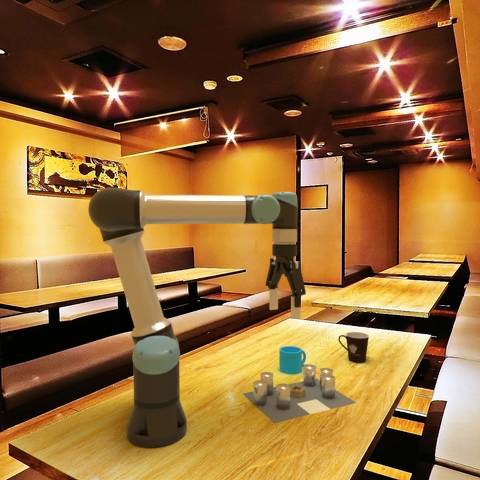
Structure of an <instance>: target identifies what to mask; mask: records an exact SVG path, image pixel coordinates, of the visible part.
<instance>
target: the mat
mask: <svg viewBox="0 0 480 480" xmlns="http://www.w3.org/2000/svg"><path fill="white" fill-rule="evenodd" d="M288 385H290V387H291V386H294V385H297V386H303V387H304V388H305V396H304V397H302V398H294V397H291V395H290V408H289V409H287V410H280V409H278V408H277V407H276V386H273V395H271V396H267V404H266V405H264V406H257V405H254V403H253V391H248V392H244V393H242V395H243V396H244V397H245V398H247V399H248V400H249V401H250V403H252V404H253V405H254V406H255V407H256V408H257V409H258V410H259V411H261V412H262V414H264V416H266V418H268V419H269V420H270V421H271V422H272V423H274V424H278V423H280V422H283V421H284V422H285V421H289V420H293V419H297V418H301V417H305V416H309V415H313V414H316V413H317V414H318V413H321V412H325V411H329V410H333V409H338V408H341V407H345V406H349V405H355V404H357V401H355V400H353V399H351V398H350V397H348V396H347V395H345V394H343V393H342V392H340V391H338V390H337V389H335V398H334V399H325V398H323V397H322V390H321V389H320V379H318V378H316V385H315V386H313V387H307V386H305V385H304V384H303V381H299V382H293V383H289V384H288Z"/></svg>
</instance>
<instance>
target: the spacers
mask: <svg viewBox="0 0 480 480" xmlns="http://www.w3.org/2000/svg"><path fill="white" fill-rule="evenodd" d="M316 367H317V366H316V365H315V364H311V363H310V364H309V363H306V364H303V365H302V372H303V375H302V377H303V384H304V385H305V386H307V387H313V386H315V385H316V379H317V375H316V374H317V373H316V371H317V369H316ZM259 378H260V379H259V380H255V381H253V384H252V387H253V391H252V392H253V403H254V404H253V403H252V404H253V405H254V406H255V405H257V406H264V405H266V404H267V396H271V395H273V387H274V373H272V372H271V371H270V372H269V371H263V372H261V373H260V377H259ZM319 380H320V389H321V390H322V397H323V398H325V399H334V398H335V390H336V376H334V373H333V369H332V368H329V367H321V368H320V369H319ZM275 387H276V407H277V408H278V409H280V410H287V409H289V408H290V385H288V384H287V383H277V385H276V386H275Z"/></svg>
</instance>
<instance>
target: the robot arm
mask: <svg viewBox="0 0 480 480" xmlns="http://www.w3.org/2000/svg"><path fill="white" fill-rule="evenodd" d="M298 209H299V207H298V196H297V194H296V193H295V192H292V191H276V192H274V193H273V194H272V195H270V194H259V195H252V194H251V195H239V194H238V195H236V194H232V195H230V194H223V195H222V194H150V193H148V194H147V193H145V191H143V190H142V189H141V190H140V189H139V190H137V189H135V190H134V189H126V188H117V187H104V188H102V189H100V190H98V191H97V192H96V193H94V194H93V196H91V198H90V200H89V203H88V216H89V218H90V220H91V222H92V224H93V225H95V226H96V227H97V228H98V229H99V232H100V235H101V239H102V242H103V244H105V245H107V246H109V247H110V250H111V252H112V256H113V258H114V262H115V265H116V269H117V272H118V275H119V279H120V282H121V285H122V290H123V292H124V296H125V299H126V302H127V305H128V308H129V309H128V310H129V313H130V315H131V316H130V317H131V319H132V322H133V326H134V328H133V329H132V331H131V335H130V336H131V338H132V343H133V345H134V347H133V348H132V349H133V350H132V351H133V352H132V356H131V357H132V358H131V360H132V363H133V364H132V366H133V368H132V369H133V406H132V409H131V413H130V416H129V420H128V422H127V426H126V435H127V439H128V441H129V442H130V443H131V444H132V445H135V446H138V447H142V448H159V447H164V446H169V445H173V444H174V443H175V442H177V441H180V440H181V439H182V438H183V437H184V436H185V435H186V433H187V430H188V429H187V428H188V424H187V423H188V420H187V417H186V414H185V411H184V408H183V405H182V403H181V402H182V401H181V397H180V396H181V394H180V392H181V388H180V385H181V384H180V383H181V380H180V377H181V376H180V374H181V373H180V358H181V350H180V344H179V341H178V337H176V334H175V331H174V328H173V325H172V321H171V320H170V319H168V318H166V317H165V316H164V313H163V310H162V307H161V303H160V300H159V297H158V293H157V289H156V287H155V282H154V279H153V275H152V273H151V269H150V265H149V262H148V258H147V254H146V252H145V249H144V245H143V240H142V237H143V236H144V234H145V226H147V225H210V224H211V225H219V224H220V225H226V224H227V225H229V224H231V225H235V224H236V225H237V224H238V225H239V224H241V225H248V224H249V225H253V224H255V225H257V224H259V225H268V224H269V225H270V224H271V226H272V234H271V235H272V236H271V237H272V238H271V240H272V243H273V244H272V245H271V251H272V252H271V253H272V254H271V255H272V257H270V258H269V266H268V270H267V271H268V272H267V276H266V279H265V280H266V281H265V286H266V287H267V288H268V289H269V294H268V295H269V310H270V311H273V310H274V311H276V310H279V287H278V286H279V283H280V281H281V279H282V276H283V275H284V277H286V279H287V283H288V285H289V288H290V291H291V293H292V294H291V296H290V298H291V299H290V319H292V320H293V319H300V318H301V306H302V297H303V296H306V294H307V293H306V292H307V291H306V287H305V283H304V279H303V274H302V268H301V267H302V266H301V265H302V264H301V261H299V260H298V261H295V260H294V259H295V258H294V257H297V256H298V245H297V244H296V243H297V242H298Z"/></svg>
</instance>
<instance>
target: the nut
mask: <svg viewBox="0 0 480 480" xmlns="http://www.w3.org/2000/svg"><path fill="white" fill-rule="evenodd" d="M290 395H291V397H294V398H302V397H304V396H305V388H304V387H303V386H297V385H294V386H291V387H290Z"/></svg>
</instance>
